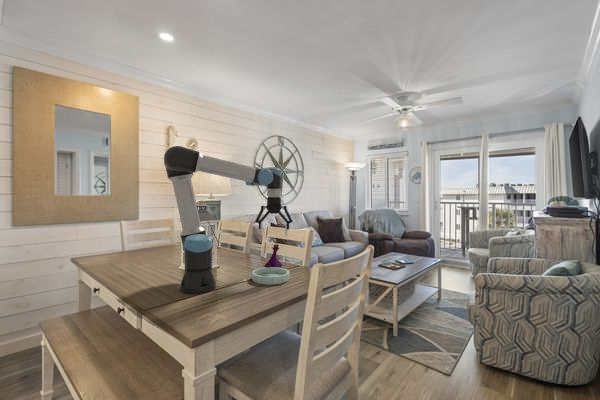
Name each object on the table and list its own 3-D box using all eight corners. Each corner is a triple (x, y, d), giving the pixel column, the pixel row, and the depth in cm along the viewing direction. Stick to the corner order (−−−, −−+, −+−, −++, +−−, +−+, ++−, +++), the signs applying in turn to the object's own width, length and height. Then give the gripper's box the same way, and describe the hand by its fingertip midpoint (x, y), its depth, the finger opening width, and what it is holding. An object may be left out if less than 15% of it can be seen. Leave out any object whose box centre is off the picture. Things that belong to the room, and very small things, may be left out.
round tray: (248, 284, 137) (248, 276, 137) (256, 273, 155) (256, 266, 155) (286, 285, 135) (286, 277, 135) (291, 274, 154) (291, 267, 154)
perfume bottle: (282, 270, 161) (283, 238, 161) (274, 273, 155) (275, 240, 154) (272, 268, 165) (272, 237, 165) (263, 271, 159) (264, 239, 158)
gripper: (249, 196, 156) (249, 236, 156) (296, 196, 154) (295, 236, 154) (253, 196, 163) (253, 234, 164) (297, 196, 161) (297, 234, 162)
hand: (273, 235), depth 159 cm, fingers open, 13 cm apart
